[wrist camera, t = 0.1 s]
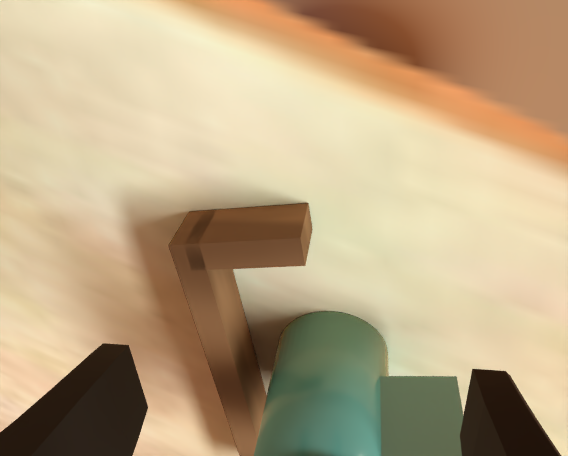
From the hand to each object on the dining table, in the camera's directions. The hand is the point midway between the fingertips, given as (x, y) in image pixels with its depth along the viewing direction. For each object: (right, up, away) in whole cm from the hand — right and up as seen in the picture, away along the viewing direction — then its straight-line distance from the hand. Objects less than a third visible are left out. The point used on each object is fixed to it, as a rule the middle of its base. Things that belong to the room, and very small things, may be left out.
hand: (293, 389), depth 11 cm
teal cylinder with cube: (+3, -2, +13) cm, 14 cm away
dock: (0, -3, +14) cm, 14 cm away
